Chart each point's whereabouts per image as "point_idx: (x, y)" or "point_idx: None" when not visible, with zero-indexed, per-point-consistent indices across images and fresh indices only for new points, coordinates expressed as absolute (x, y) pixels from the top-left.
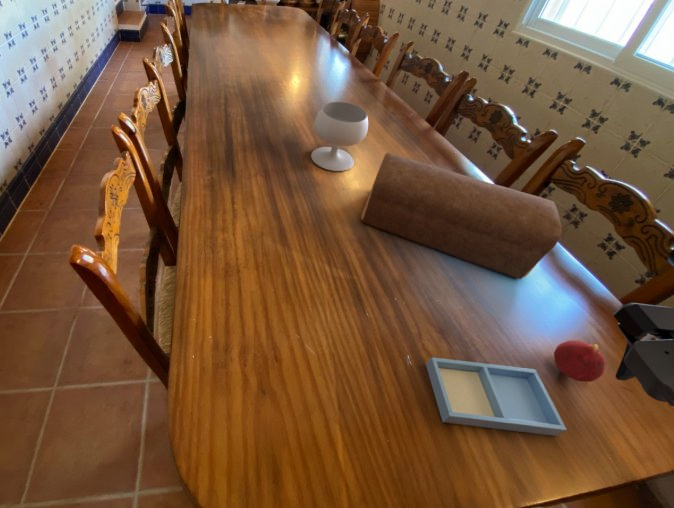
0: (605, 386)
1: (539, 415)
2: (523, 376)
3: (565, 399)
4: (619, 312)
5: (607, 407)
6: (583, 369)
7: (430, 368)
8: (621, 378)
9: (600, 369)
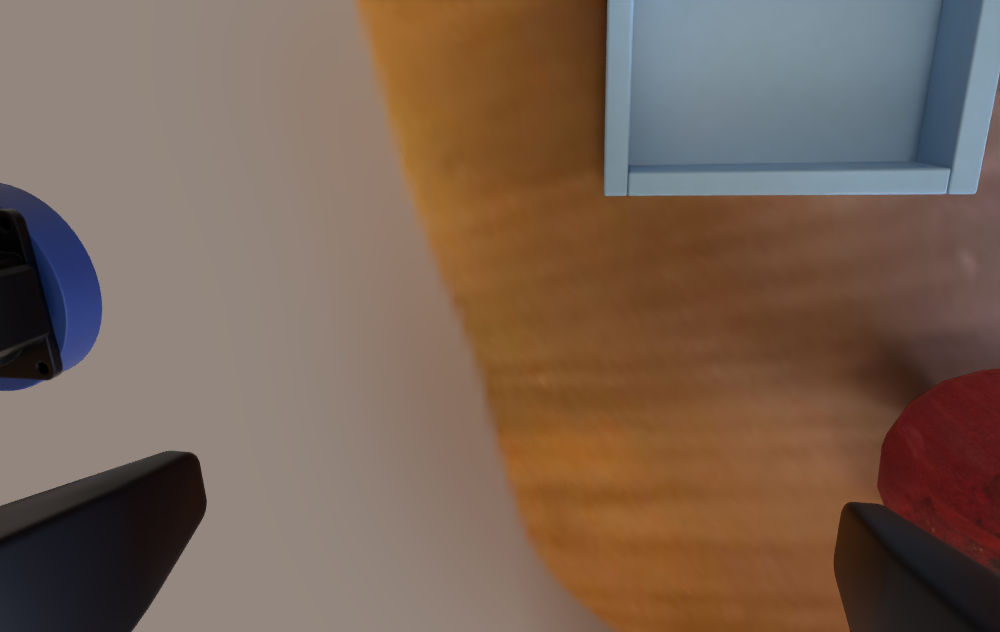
0: None
1: (696, 131)
2: (928, 132)
3: (790, 338)
4: None
5: (755, 514)
6: (960, 460)
7: None
8: (851, 537)
9: None
